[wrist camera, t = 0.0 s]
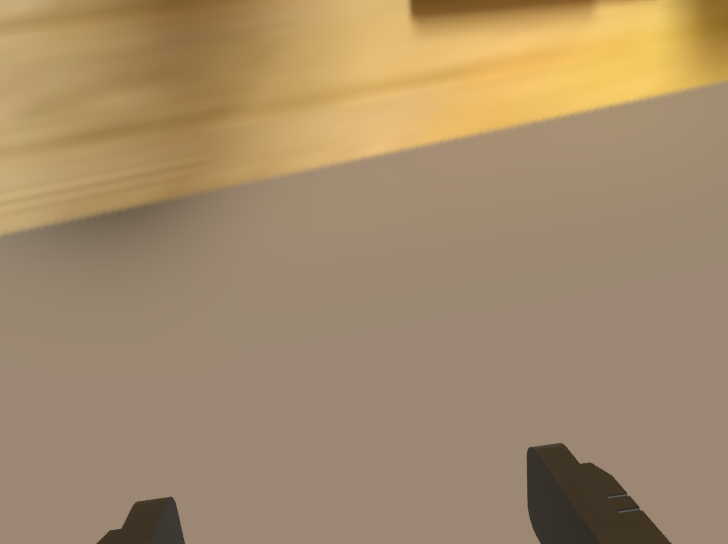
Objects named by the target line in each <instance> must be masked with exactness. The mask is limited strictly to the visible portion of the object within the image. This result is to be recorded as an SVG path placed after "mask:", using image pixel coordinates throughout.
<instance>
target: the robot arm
mask: <svg viewBox="0 0 728 544" xmlns="http://www.w3.org/2000/svg"><path fill="white" fill-rule="evenodd" d="M527 498H528V511H529V516H530V520H531V524H532V527H533V529H534V532H535V533H536V536H537V537H538V539H539V541H540V543H541V544H671V543H670V542H669V541H668V539H667V538H666V537H665V536H664V535H663V534H662V532H661V531H659V529H658V528H657V527H656V526H655V525H654V523H653V522H652V521H651V520H650V519H649V518H648V516H647V515H646V514H645V513H644V512H643V511H640V509H639V506H638V505H637V504H636V503H635V502H634V500H633V499H632V498H631V497H630V496H627V492H626V491H625V490H624V489H623V488H622V487H621V485H620V484H619V483H618V482H617V481H616V480H615V479H614V477H613V476H612V475H610V474H608V473H607V472H605V471H604V470H602V469H600V468H599V467H597V466H595V465H594V464H592V463H583V464H580V463H579V462H578V461H577V460H576V458H575V457H574V456H573V455H572V453H571V452H570V451H569V450H568V449H567V447H566V446H565V445H564V444H562V443H557V444H550V445H544V446H536V447H530V448H529V449H528V451H527ZM97 544H185V542H184V538H183V533H182V529H181V525H180V520H179V515H178V511H177V507H176V503H175V501H174V499H173V498H172V497H167V498H160V499H153V500H145V501H139V502H136V503H135V504H134V505H133V507H132V509H131V511H130V513H129V515H128V517H127V519H126V521H125V523H124V525H123V527H122V529H117V530H110V531H109V532H108V533H107V534H106V535H105V536H104V537H103V538H102V539H101V540H100V541H99V542H98V543H97Z"/></svg>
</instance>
